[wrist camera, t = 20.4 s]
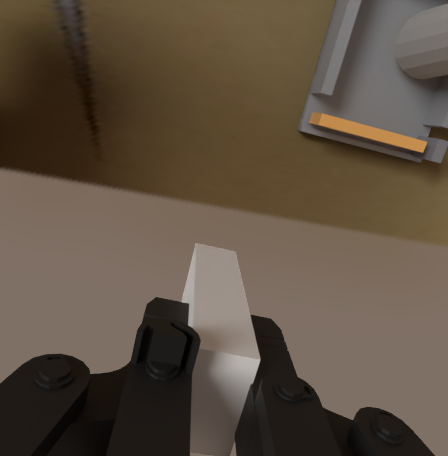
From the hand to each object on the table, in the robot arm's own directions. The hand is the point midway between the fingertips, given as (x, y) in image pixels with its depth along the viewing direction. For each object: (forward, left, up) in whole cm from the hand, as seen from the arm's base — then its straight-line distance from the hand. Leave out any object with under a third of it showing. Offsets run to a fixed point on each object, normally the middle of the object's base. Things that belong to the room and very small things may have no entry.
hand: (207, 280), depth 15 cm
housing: (+18, +15, -34) cm, 41 cm away
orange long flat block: (+17, +7, -33) cm, 38 cm away
